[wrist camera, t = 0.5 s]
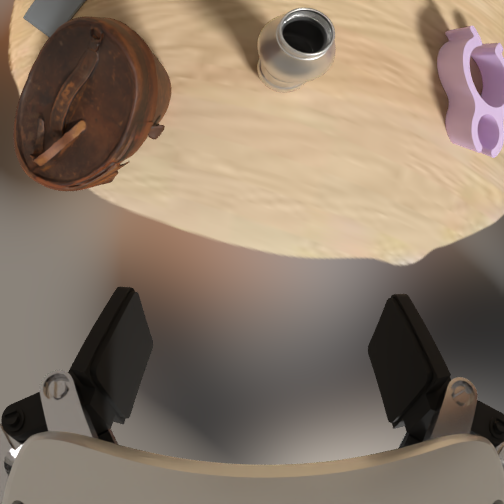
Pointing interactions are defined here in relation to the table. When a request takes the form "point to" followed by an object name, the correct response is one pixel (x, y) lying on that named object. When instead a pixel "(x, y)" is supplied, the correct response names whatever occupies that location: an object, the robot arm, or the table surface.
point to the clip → (473, 91)
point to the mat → (51, 14)
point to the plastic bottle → (295, 49)
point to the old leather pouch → (88, 104)
